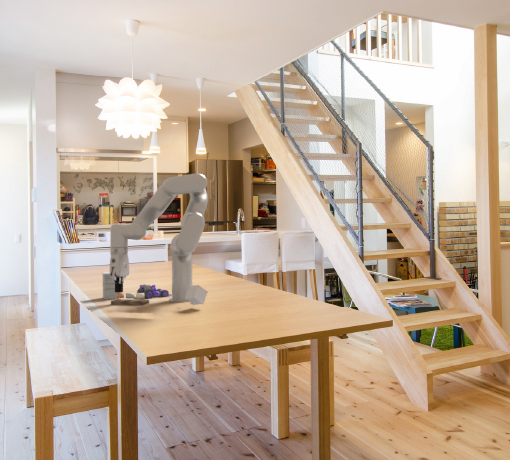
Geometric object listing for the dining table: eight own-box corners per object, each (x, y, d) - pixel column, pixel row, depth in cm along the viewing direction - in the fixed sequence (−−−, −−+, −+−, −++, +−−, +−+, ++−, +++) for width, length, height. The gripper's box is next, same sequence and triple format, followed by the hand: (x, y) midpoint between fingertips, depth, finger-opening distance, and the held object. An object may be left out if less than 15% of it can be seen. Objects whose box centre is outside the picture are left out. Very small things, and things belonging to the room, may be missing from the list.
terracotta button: (125, 297, 217) (125, 292, 217) (121, 298, 213) (121, 293, 213) (118, 297, 217) (118, 292, 217) (114, 298, 214) (114, 293, 214)
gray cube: (184, 298, 207) (189, 286, 210) (193, 304, 210) (198, 292, 213) (194, 297, 203) (198, 285, 206) (203, 303, 207) (207, 291, 210)
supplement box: (102, 298, 235) (102, 272, 236) (118, 297, 238) (117, 271, 238) (103, 299, 229) (103, 273, 229) (119, 298, 231) (119, 272, 231)
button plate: (149, 303, 215) (149, 299, 215) (143, 305, 209) (143, 301, 209) (117, 302, 219) (117, 299, 219) (110, 304, 213) (110, 301, 213)
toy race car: (173, 296, 239) (173, 283, 239) (145, 299, 230) (145, 286, 230) (164, 295, 246) (164, 282, 246) (136, 297, 237) (136, 284, 237)
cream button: (145, 297, 214) (145, 293, 214) (142, 298, 211) (142, 294, 211) (138, 297, 215) (138, 293, 215) (134, 298, 212) (134, 294, 212)
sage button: (135, 297, 215) (135, 292, 215) (131, 298, 212) (131, 293, 212) (128, 297, 216) (128, 292, 216) (124, 298, 213) (124, 293, 213)
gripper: (118, 252, 207) (118, 294, 207) (134, 250, 222) (134, 290, 222) (102, 251, 209) (102, 294, 209) (119, 250, 223) (119, 290, 223)
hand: (118, 292), depth 215 cm, fingers closed
